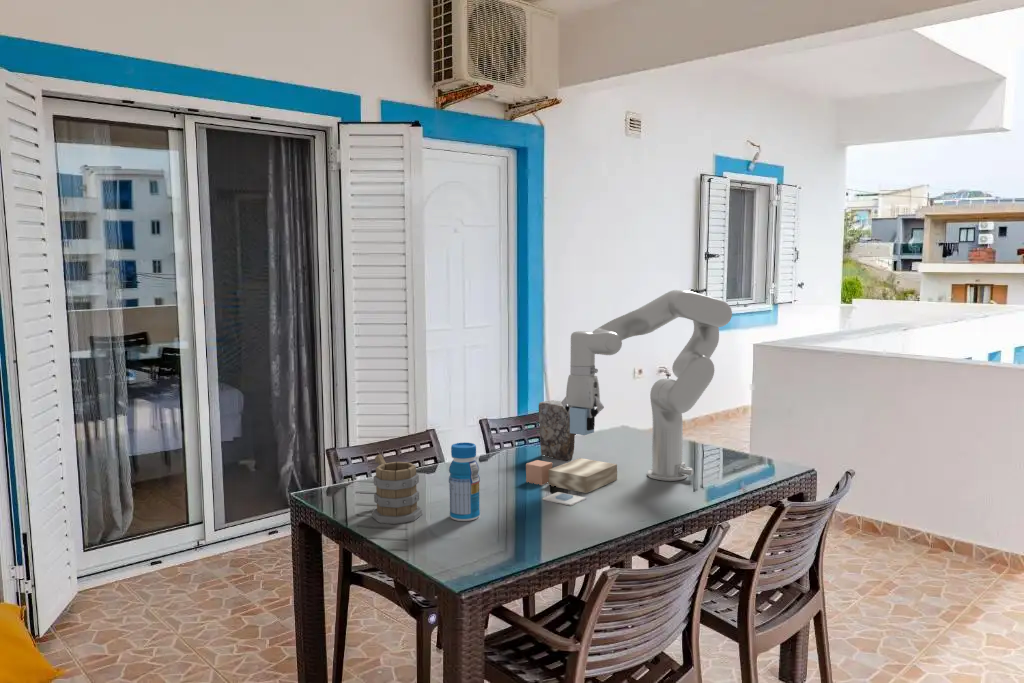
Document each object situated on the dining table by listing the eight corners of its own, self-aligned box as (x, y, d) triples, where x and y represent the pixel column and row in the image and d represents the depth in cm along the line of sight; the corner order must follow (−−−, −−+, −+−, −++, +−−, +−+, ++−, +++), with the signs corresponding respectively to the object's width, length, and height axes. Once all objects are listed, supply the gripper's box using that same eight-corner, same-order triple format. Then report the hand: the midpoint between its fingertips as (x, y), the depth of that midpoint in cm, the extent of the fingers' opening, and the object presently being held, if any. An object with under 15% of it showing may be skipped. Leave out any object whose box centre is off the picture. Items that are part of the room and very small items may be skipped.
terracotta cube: (552, 481, 238) (552, 462, 238) (541, 485, 234) (541, 466, 233) (537, 478, 242) (537, 459, 242) (526, 482, 237) (525, 463, 237)
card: (586, 498, 219) (586, 495, 219) (570, 505, 213) (570, 502, 213) (557, 493, 225) (557, 489, 225) (542, 499, 219) (542, 496, 219)
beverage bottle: (452, 523, 199) (451, 449, 197) (446, 513, 207) (445, 442, 205) (483, 520, 201) (482, 447, 199) (476, 510, 209) (475, 440, 207)
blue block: (594, 432, 235) (594, 407, 234) (584, 435, 231) (584, 409, 230) (579, 430, 238) (579, 405, 238) (569, 433, 234) (569, 407, 233)
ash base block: (617, 479, 239) (617, 464, 238) (586, 493, 225) (586, 476, 224) (580, 472, 247) (580, 458, 247) (548, 485, 233) (548, 469, 233)
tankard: (427, 518, 203) (426, 464, 202) (383, 526, 197) (381, 471, 196) (400, 499, 221) (399, 449, 219) (359, 506, 214) (357, 455, 213)
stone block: (537, 456, 270) (536, 401, 268) (549, 452, 276) (548, 399, 274) (566, 462, 262) (566, 405, 260) (578, 458, 267) (578, 402, 265)
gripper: (612, 372, 230) (611, 430, 232) (566, 367, 241) (565, 423, 243) (599, 374, 224) (599, 434, 226) (552, 370, 235) (552, 427, 237)
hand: (582, 427), depth 234 cm, fingers closed on blue block, 5 cm apart
